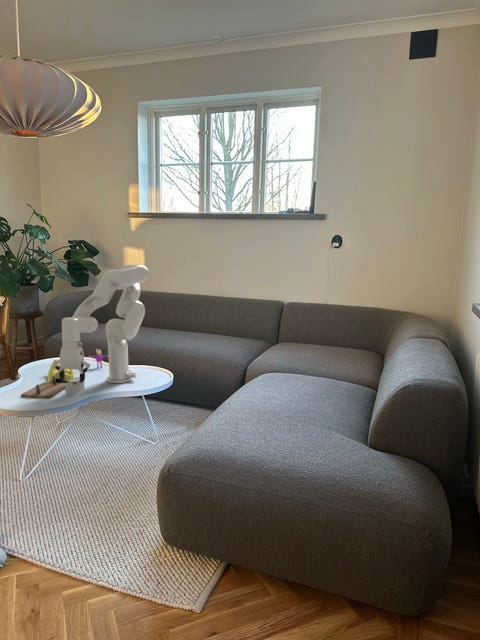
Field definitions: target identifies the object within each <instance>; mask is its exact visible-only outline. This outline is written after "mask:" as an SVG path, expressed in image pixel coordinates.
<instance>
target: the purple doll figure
mask: <svg viewBox="0 0 480 640" xmlns="http://www.w3.org/2000/svg"><path fill="white" fill-rule="evenodd" d="M95 352H96V355H92V356H91V355H90V354H91V353H89V354H88V358H94V359H95V361H96V363H97V364H96V365H97V366H96V367H97V368H99V367H100V368H101V369H102V368H103V365H102V361H103V358H109V355H102V352H103V353H104V354H108V351H107V349H99V347H97V348H96V349H95ZM99 363H100V366H99Z"/></svg>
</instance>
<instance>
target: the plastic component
mask: <svg viewBox="0 0 480 640" xmlns="http://www.w3.org/2000/svg"><path fill="white" fill-rule="evenodd" d="M58 360H59V359H54V360H53V361H52V364H51V365H50V367H49V370H48V373H47V378H46V380H47V382H48V383H53V379H52V376H55V377H56V379H58V380H60V378H59V372H58V370H57V369H56V368H55V366H54V364H53V363H54V362H56V361H58ZM58 365H59V366H60V363H58ZM63 371H64V372H65V379H64V380H63V381H65V382H68V381H70V380H71V379H73V378H75V374H74V373H75V372H74V369H64V370H63Z"/></svg>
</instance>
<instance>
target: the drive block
mask: <svg viewBox="0 0 480 640" xmlns="http://www.w3.org/2000/svg"><path fill="white" fill-rule="evenodd" d="M64 383H65V390H64V391H65V396H66V397H75V396H77V395H78V394H79V393H81V392H83V390H85V380H84V381H83V382H80V376H74V378H73V379H71V380H70V381H65V382H64Z"/></svg>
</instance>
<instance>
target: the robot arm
mask: <svg viewBox="0 0 480 640" xmlns="http://www.w3.org/2000/svg"><path fill="white" fill-rule="evenodd" d="M149 273H150V272H149V269H148V268H147V267H146V266H144V265H142V264H125V265H123V266H122V267H121V268H120V269H117V268H116V269H113V268H112V269H108V270H106V271H105V272H104V273H103V275H102V277H101V278H100V280H99V282H98V284H97V286H96V287H95V289H94V291H93V292H92V293H91V295H89V296H88V297H87V298H85V300H83V301H82V303H80V304H79V305H78V307H77V308H76V309H75V311H74V314H73V315H72V317H70V316H68V317H64V318H62V320H61V339H62V340H61V341H62V343H61V344H62V347H61V348H60V354H59V359H57V360H58V361H56V362H54V363H53V362H52V363H53V364H54V366H55V368H56V369H57V370H58V372H59V378H60V379H59V381H60V382H62V381H64V379H65V372H64V371H63V370H64V369H73V370H74V371H76V370H78V372H80V373H79V377H80V382H83V381H84V382H85V380H86V373H87V371H88V370H89V369H90V366H91V363H89V362H87V361H86V360H85V354H84V351H83V347H82V346H83V342H81V333H82V334H83V333H88V334H89V333H93V332H95V331H96V330H97V329H98V327H99V322H98V320H97V319H96V318H95V317H93V316H91V314H92V313H93V312H94V311H96V310H97V309H99V308H101V307H104V306H105V305H107V304H109V302H110V301H111V299H112V298H113V296H114V294H115V292H116V290H117V289H118V288H123V291H122V294H121V296H120V298H119V301H118V303H117V305H116V309H115V314H116V315H117V316H118V317H120V318H122V319H120V318H112V319H109V320H108V321H107V323H106V324H105V327H104V330H105V336H106V339H107V352H108V353H107V354H108V355H107V356H109V357H108V368H109V369H108V371H109V376H107V378H106V382H107V383H109V384H124V383H128V382H131V381H132V380H133V378H137V373H136V372H131V370H130V369H129V349H128V347H129V346H128V342H127V341H131V340H133V339H134V338H135V337H136V335H137V334H138V332H139V329H140V327H141V325H142V322H143V320H144V317H145V314H146V308H145V305H144V304H143V303H142V302H141V301H140V300H139V299H140V296H141V285H140V284H141V283H144V282H145V281H146V280H147V279H148V278H149V275H150V274H149ZM58 363H60V366H59V365H58Z"/></svg>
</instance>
